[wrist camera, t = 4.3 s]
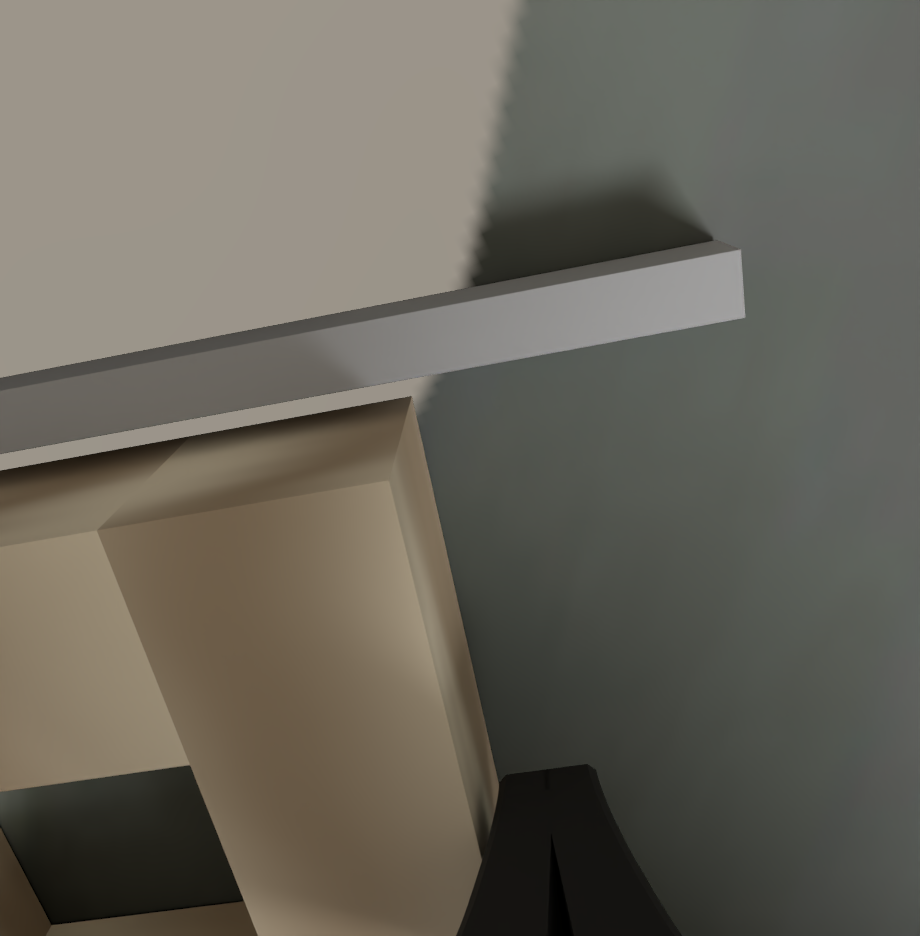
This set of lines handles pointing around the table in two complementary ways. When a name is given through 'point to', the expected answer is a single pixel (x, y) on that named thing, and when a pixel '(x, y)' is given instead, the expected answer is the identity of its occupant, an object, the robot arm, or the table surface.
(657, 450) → the table surface
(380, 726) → the socket block
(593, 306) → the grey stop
